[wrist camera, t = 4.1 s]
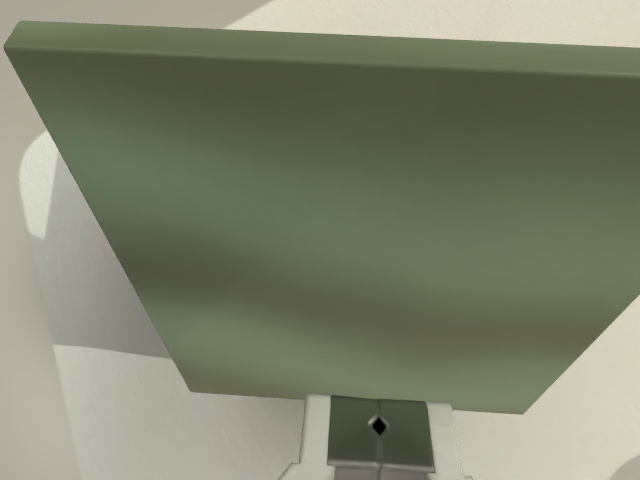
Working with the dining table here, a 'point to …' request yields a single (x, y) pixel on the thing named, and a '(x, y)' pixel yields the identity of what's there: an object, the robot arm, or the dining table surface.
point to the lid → (354, 201)
